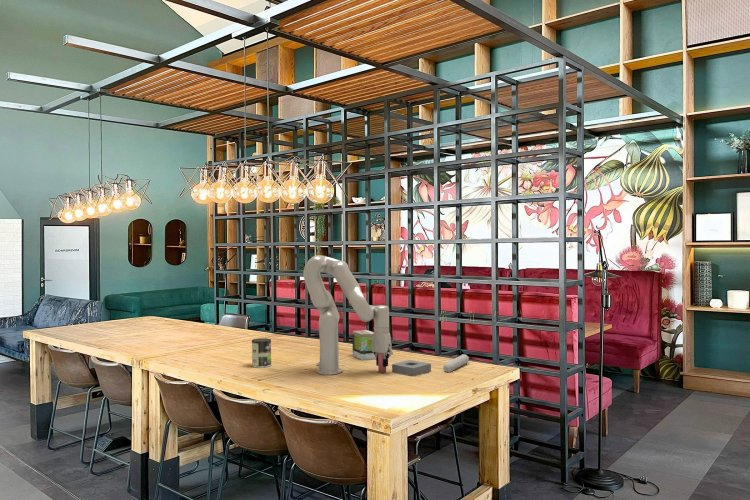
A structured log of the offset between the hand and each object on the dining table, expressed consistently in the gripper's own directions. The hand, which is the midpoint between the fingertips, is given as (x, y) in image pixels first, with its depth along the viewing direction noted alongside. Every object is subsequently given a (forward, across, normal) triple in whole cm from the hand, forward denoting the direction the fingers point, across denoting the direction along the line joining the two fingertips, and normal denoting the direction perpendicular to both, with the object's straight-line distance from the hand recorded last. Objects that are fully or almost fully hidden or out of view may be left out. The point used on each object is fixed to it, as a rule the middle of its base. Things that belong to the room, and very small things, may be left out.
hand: (382, 365), depth 293 cm
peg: (+3, 0, 0) cm, 3 cm away
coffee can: (+3, -60, -31) cm, 68 cm away
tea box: (+4, -33, +21) cm, 39 cm away
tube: (+4, +23, +32) cm, 39 cm away
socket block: (+3, +11, +10) cm, 15 cm away
